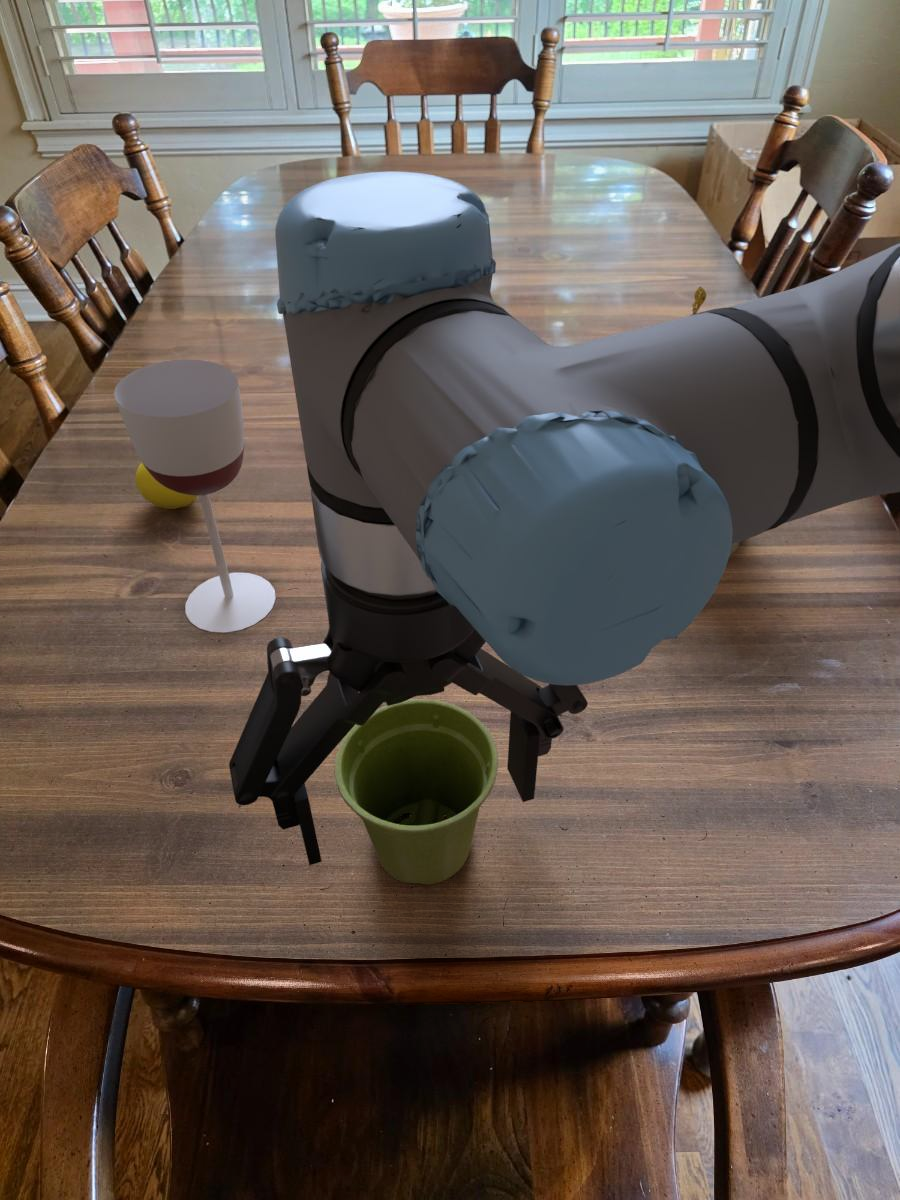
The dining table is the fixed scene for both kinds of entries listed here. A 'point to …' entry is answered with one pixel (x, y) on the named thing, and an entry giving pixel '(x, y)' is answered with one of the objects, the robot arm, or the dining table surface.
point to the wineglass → (196, 467)
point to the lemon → (160, 491)
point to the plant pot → (418, 785)
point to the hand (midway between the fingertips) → (418, 813)
